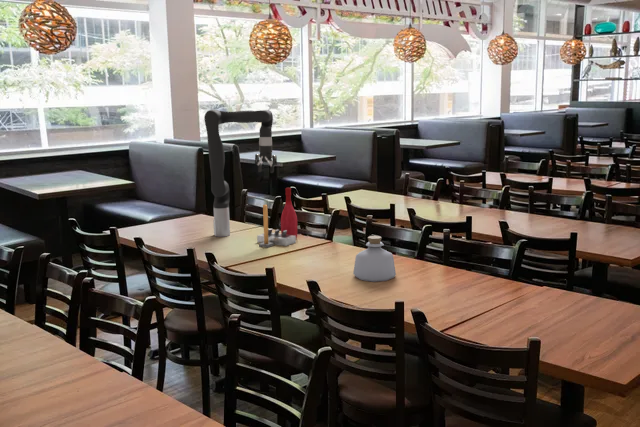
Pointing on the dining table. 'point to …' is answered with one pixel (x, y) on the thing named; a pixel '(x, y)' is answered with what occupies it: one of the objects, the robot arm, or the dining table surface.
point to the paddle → (270, 231)
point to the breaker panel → (278, 239)
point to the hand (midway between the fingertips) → (265, 172)
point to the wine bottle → (289, 216)
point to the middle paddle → (276, 232)
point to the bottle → (374, 262)
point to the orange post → (265, 229)
